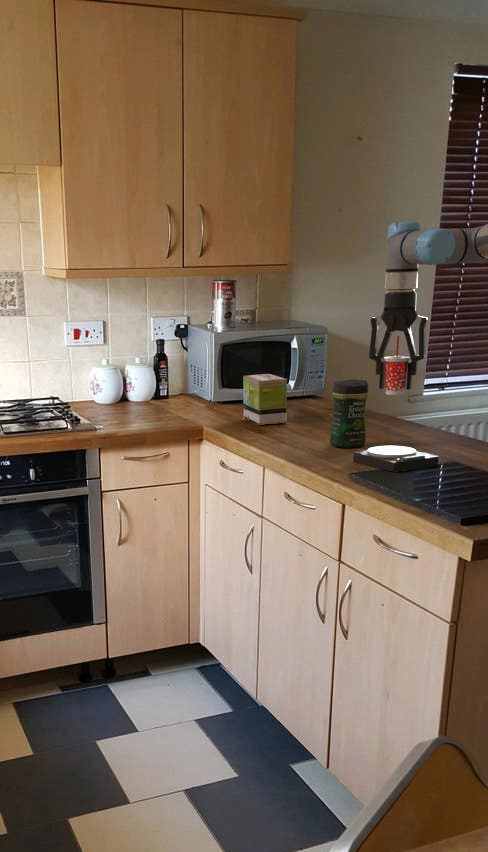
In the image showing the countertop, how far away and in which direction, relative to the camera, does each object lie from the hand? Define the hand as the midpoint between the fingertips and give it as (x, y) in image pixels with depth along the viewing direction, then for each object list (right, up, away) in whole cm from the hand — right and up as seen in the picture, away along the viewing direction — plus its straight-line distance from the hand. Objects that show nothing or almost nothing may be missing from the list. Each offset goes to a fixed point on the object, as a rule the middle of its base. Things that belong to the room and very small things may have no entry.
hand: (395, 388), depth 218 cm
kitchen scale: (+1, -18, +5) cm, 19 cm away
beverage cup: (0, -1, +1) cm, 2 cm away
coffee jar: (-6, -10, +29) cm, 31 cm away
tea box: (-24, +4, +72) cm, 76 cm away
